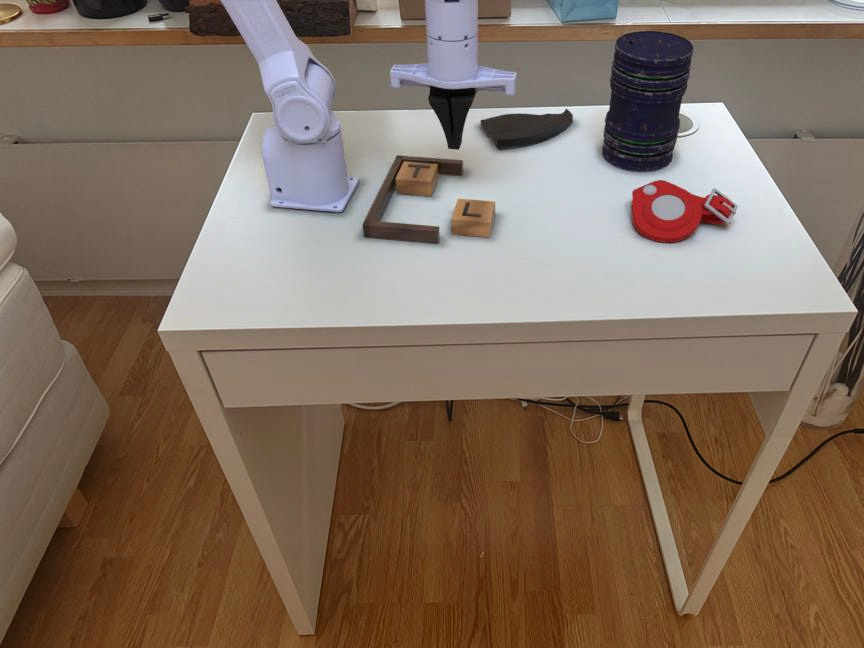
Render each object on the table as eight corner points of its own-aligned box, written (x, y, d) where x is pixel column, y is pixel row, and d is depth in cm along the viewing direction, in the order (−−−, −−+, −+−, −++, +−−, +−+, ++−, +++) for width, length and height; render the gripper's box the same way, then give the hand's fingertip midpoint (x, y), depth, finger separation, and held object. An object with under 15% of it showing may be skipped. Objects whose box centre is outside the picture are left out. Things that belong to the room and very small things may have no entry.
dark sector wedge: (585, 137, 106) (586, 127, 105) (495, 151, 103) (495, 140, 102) (563, 113, 112) (564, 102, 110) (478, 125, 109) (478, 114, 107)
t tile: (396, 193, 95) (395, 177, 93) (404, 176, 98) (403, 160, 96) (431, 196, 94) (430, 180, 93) (438, 178, 97) (438, 163, 96)
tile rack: (363, 237, 88) (362, 224, 86) (397, 167, 100) (396, 154, 98) (438, 244, 86) (437, 231, 85) (463, 172, 99) (463, 160, 97)
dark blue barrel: (675, 142, 105) (696, 34, 94) (671, 176, 98) (693, 63, 87) (605, 134, 106) (618, 27, 96) (596, 167, 100) (609, 56, 89)
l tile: (451, 234, 88) (451, 218, 86) (458, 213, 91) (458, 197, 90) (489, 237, 87) (489, 221, 86) (495, 217, 91) (495, 200, 89)
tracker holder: (657, 245, 84) (613, 187, 89) (653, 268, 88) (612, 211, 93) (749, 203, 85) (701, 148, 90) (741, 227, 89) (695, 173, 94)
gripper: (521, 23, 84) (517, 134, 93) (396, 16, 85) (405, 126, 95) (513, 46, 79) (510, 162, 88) (381, 38, 80) (391, 152, 90)
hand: (454, 145), depth 91 cm, fingers closed
